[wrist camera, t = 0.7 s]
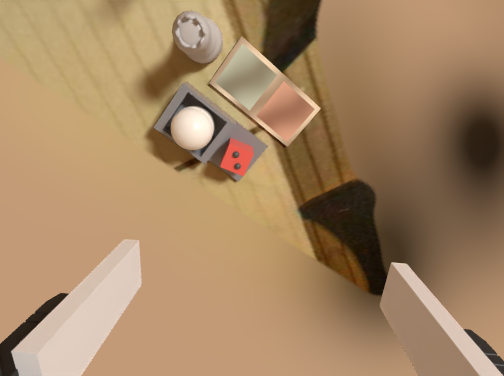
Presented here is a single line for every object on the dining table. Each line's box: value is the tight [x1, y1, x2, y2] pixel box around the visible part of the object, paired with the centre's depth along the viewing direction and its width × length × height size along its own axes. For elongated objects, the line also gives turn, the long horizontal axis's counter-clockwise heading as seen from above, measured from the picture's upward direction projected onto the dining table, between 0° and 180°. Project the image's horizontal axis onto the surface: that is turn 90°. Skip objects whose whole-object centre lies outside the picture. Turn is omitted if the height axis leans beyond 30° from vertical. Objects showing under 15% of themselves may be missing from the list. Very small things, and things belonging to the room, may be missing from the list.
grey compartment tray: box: [154, 82, 268, 181], centre depth 32 cm, size 12×6×4 cm, turn 51°
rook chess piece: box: [172, 11, 223, 64], centre depth 26 cm, size 4×4×8 cm
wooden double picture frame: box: [209, 36, 321, 147], centre depth 32 cm, size 12×6×1 cm, turn 51°
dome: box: [171, 105, 215, 150], centre depth 29 cm, size 4×4×4 cm
